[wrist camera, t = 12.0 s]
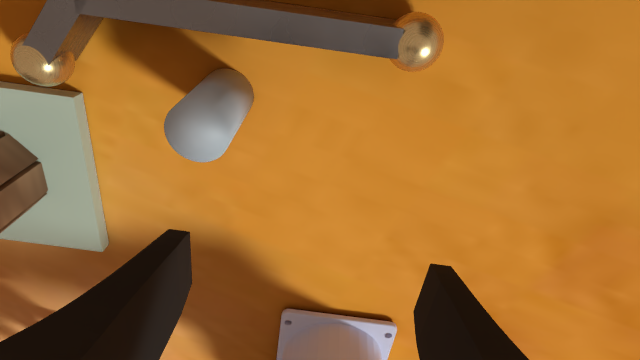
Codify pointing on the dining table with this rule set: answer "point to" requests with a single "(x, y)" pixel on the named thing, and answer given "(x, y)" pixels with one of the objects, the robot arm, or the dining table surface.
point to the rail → (223, 30)
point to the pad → (56, 167)
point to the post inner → (209, 115)
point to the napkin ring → (18, 180)
